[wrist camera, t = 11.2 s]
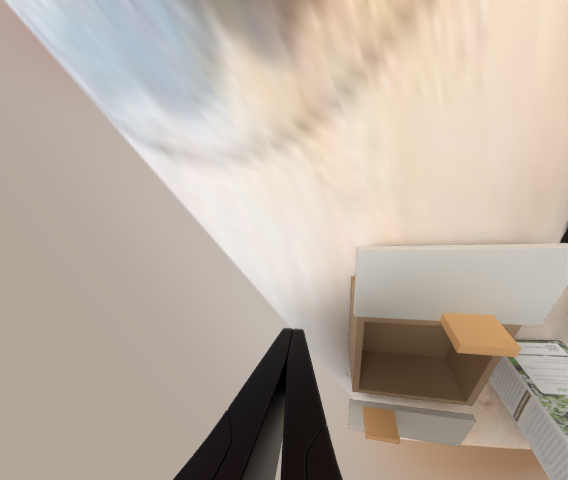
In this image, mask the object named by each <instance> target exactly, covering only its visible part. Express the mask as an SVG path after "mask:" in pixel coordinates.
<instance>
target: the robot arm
mask: <svg viewBox="0 0 568 480" xmlns="http://www.w3.org/2000/svg"><path fill="white" fill-rule="evenodd" d="M562 243H568V231H567V233H566V234H565V236H564V238H563V240H562ZM282 438H283V446H282V465H281V480H343V479H342V476H341V473H340V470H339V467H338V464H337V461H336V457H335V453H334V450H333V446H332V442H331V439H330V434H329V430H328V427H327V423H326V419H325V415H324V411H323V407H322V402H321V398H320V394H319V390H318V386H317V382H316V378H315V374H314V370H313V366H312V362H311V358H310V354H309V350H308V346H307V342H306V338H305V334H304V330H303V329H294V330H293V329H292V328H284V329H283V330H282V331H281V332H280V334H279V335H278V337H277V338H276V340H275V341H274V342H273V344H272V345H271V347H270V348H269V350H268V351H267V353H266V354H265V356H264V357H263V358H262V360H261V361H260V363H259V364H258V366H257V367H256V369H255V370H254V371H253V373H252V374H251V376H250V377H249V379H248V380H247V382H246V383H245V384H244V386H243V387H242V389H241V390H240V392H239V393H238V395H237V396H236V398H235V399H234V400H233V402H232V403H231V405H230V406H229V408H228V410H226V412H225V413H224V415H223V416H222V418H221V419H220V421H219V422H218V423H217V425H216V426H215V427H214V429H213V430H212V432H211V433H210V434H209V436H208V437H207V438H206V440H205V441H204V442H203V443H202V445H201V446H200V447H199V449H198V450H197V451H196V452H195V453H194V455H193V456H192V457H191V458H190V460H189V461H188V462H187V463H186V465H185V466H184V467H183V468H182V469H181V471H180V472H179V473H178V474H177V475H176V476H175V478H174V479H173V480H275V476H276V470H277V465H278V460H279V454H280V449H281V443H282Z"/></svg>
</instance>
